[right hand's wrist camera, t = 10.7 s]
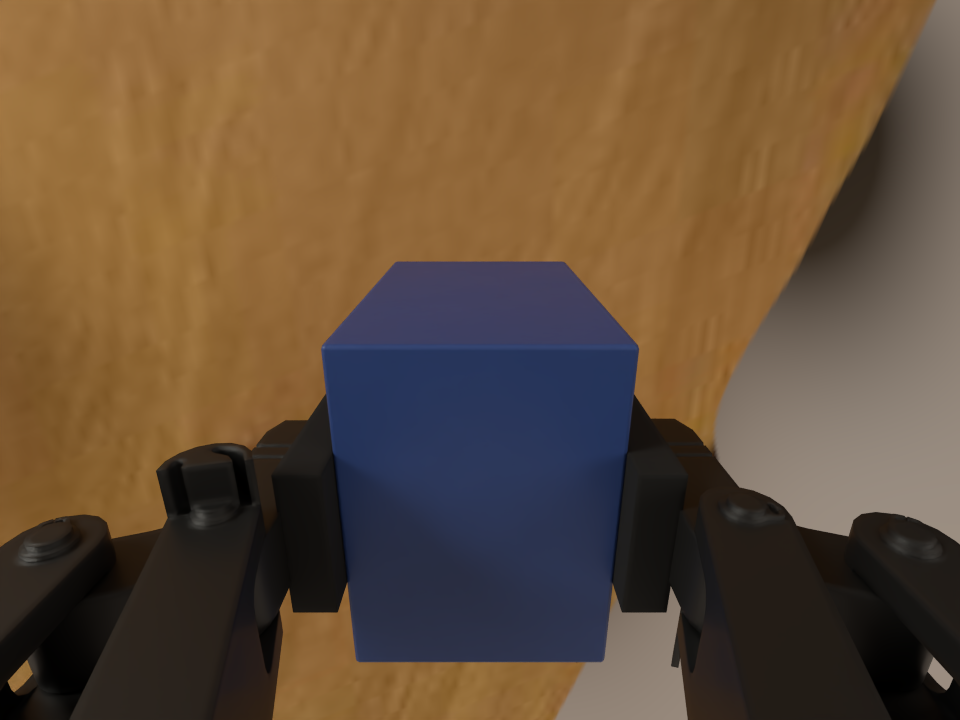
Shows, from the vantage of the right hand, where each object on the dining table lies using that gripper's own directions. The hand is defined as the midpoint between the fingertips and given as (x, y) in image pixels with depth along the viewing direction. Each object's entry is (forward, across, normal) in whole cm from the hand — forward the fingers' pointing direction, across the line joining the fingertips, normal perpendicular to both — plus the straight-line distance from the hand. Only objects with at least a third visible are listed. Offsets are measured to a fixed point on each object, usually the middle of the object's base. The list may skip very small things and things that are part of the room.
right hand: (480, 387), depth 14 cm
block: (+2, 0, 0) cm, 2 cm away
